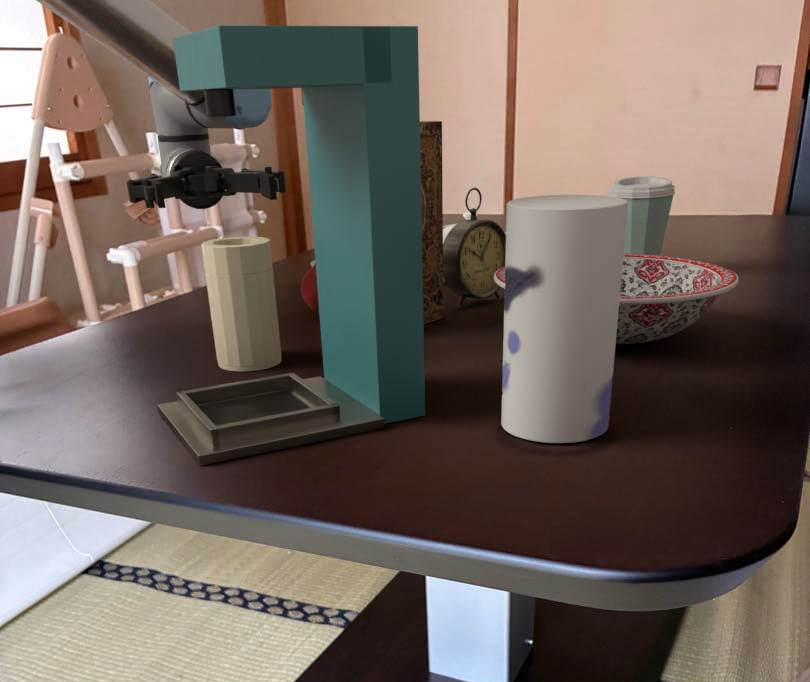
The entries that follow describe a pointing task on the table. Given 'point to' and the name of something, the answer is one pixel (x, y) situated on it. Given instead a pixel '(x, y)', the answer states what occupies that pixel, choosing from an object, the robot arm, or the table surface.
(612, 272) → the container
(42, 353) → the table surface
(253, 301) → the cream faceted cup
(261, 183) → the robot arm
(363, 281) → the coffee station
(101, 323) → the table surface
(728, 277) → the ceramic bowl
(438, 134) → the book
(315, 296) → the onion
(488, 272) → the alarm clock
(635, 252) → the disposable coffee cup
